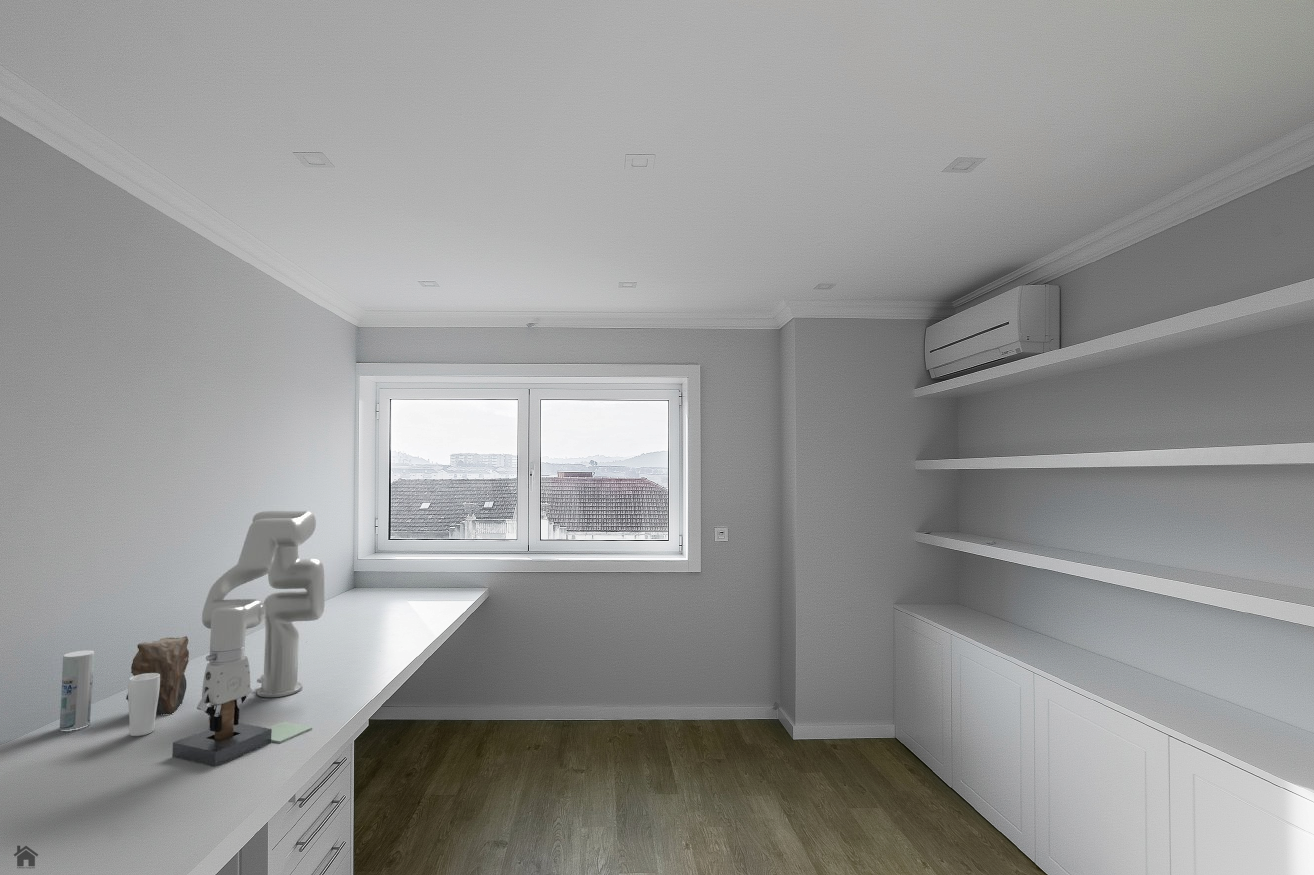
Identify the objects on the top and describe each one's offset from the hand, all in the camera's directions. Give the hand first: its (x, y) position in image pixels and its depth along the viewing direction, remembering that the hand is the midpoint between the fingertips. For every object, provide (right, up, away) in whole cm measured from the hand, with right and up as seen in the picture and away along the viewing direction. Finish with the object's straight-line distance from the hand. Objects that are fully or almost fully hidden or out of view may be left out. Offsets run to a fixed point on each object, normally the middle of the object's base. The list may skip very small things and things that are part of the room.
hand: (224, 726), depth 166 cm
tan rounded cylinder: (0, -4, 0) cm, 4 cm away
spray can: (-49, -6, +13) cm, 51 cm away
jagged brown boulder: (-36, -7, +26) cm, 45 cm away
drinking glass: (-28, -6, +9) cm, 30 cm away
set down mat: (+9, -6, +10) cm, 15 cm away
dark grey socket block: (0, -6, 0) cm, 6 cm away
